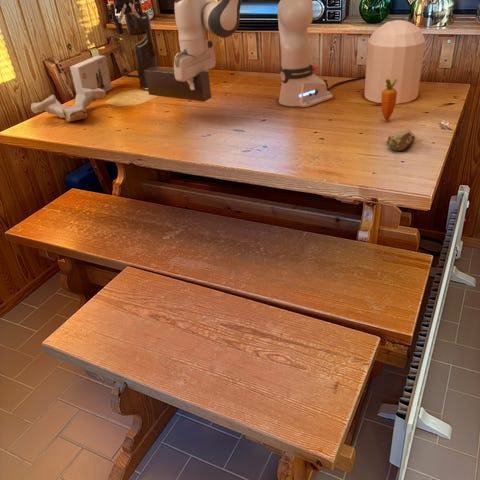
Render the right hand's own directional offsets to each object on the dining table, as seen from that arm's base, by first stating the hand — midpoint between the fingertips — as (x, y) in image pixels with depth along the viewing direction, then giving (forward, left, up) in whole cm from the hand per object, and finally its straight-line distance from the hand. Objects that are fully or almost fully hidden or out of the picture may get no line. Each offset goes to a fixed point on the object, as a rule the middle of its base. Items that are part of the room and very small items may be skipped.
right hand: (198, 86), depth 168 cm
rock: (-47, +56, -15) cm, 74 cm away
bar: (+5, -8, -4) cm, 11 cm away
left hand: (+16, -25, +18) cm, 35 cm away
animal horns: (+43, -41, -15) cm, 61 cm away
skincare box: (+29, -71, -15) cm, 78 cm away
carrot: (-57, +36, -15) cm, 69 cm away
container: (-76, +15, -15) cm, 79 cm away
